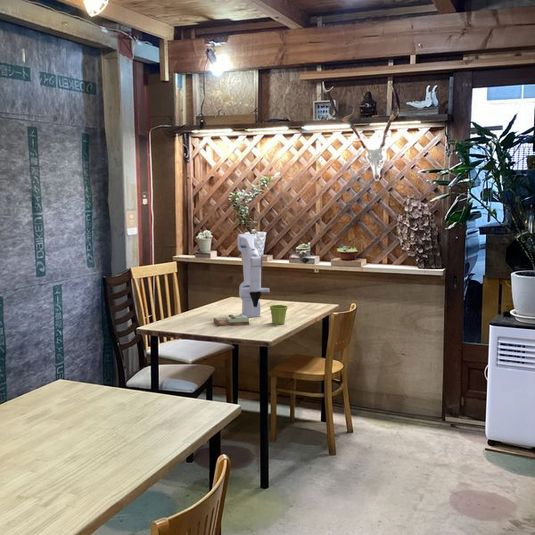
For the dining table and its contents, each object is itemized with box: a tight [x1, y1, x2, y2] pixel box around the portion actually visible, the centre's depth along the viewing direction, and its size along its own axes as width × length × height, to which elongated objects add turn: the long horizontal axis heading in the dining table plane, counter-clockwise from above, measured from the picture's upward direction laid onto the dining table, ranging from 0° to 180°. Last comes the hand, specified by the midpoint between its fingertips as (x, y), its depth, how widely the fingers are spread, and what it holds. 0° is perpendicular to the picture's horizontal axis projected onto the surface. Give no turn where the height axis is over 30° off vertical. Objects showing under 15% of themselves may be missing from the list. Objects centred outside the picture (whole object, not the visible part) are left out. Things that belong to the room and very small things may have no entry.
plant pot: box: [269, 304, 289, 325], centre depth 308 cm, size 9×9×9 cm
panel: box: [224, 315, 250, 323], centre depth 308 cm, size 10×8×2 cm
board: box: [213, 314, 250, 327], centre depth 307 cm, size 16×9×4 cm, turn 107°
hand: (255, 306), depth 310 cm, fingers closed
